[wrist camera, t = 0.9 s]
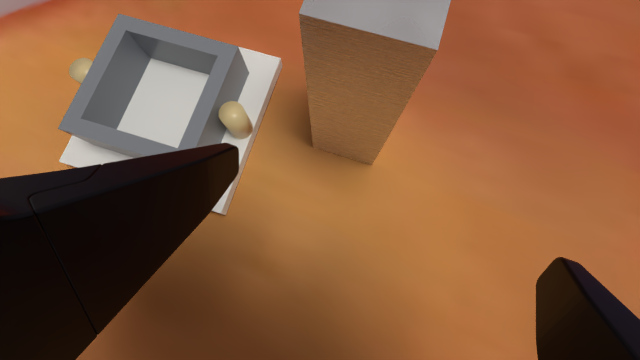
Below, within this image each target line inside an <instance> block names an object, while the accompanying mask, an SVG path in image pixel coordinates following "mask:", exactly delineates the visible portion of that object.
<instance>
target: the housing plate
mask: <svg viewBox="0 0 640 360" xmlns="http://www.w3.org/2000/svg"><path fill="white" fill-rule="evenodd" d="M281 69H282V62H281V58H278V57H274V56H271V55H267V54H263V53H260V52H256V51H252V50H249V49H245V48H241V47H238V46H234V45H231V44H227V43H224V42H220V41H216V40H213V39H209V38H205V37H202V36H198V35H194V34H191V33H187V32H184V31H180V30H176V29H173V28H169V27H165V26H162V25H158V24H154V23H151V22H147V21H144V20H140V19H136V18H133V17H129V16H125V15H122V14H118V16H117V18H116V20H115V21H114V23H113V25H112V27H111V29H110V31H109V33H108V35H107V37H106V39H105V40H104V42H103V44H102V46H101V48H100V50H99V52H98V54H97V56H96V57H95V59H94V61H93V62H92V61H91V60H90V59H87V58H80V59H77V60H75V61H74V62H73V63H72V64H71V66H70V68H69V74H70V76H71V77H72V78H73V79H75V80H76V81H78V82H79V83H81V86H80V88H79V90H78V91H77V93H76V95H75V97H74V99H73V101H72V103H71V105H70V107H69V108H68V110H67V112H66V114H65V116H64V118H63V120H62V122H61V124H60V125H59V127H58V129H60V130H62V131H64V132H66V133H69V134H71V135H72V137H71V139H70V141H69V143H68V145H67V147H66V149H65V150H64V152H63V154H62V156H61V158H60V160H59V162H62V163H65V164H68V165H71V166H74V167H77V168H79V167H86V166H91V165H97V164H101V165H103V164H104V163H109V162H115V161H121V160H127V159H132V158H138V157H144V156H150V155H156V154H161V153H167V152H173V151H179V150H184V149H190V148H196V147H202V146H208V145H213V144H219V143H229V144H232V145H235V146H237V147H238V149H239V172H238V175H237V176H236V178H235V179H234V181H233V182H232V183H231V185H230V186H229V188H228V189H227V190H226V192H225V193H224V194H223V196H222V197H221V199H220V200H219V201H218V203H217V204H216V205H215V207H214V208H213V209H212V210H211V211H214V212H217V213H220V214H223V215H226V213H227V211H228V208H229V205H230V203H231V200H232V198H233V195H234V192H235V190H236V187H237V184H238V182H239V179H240V176H241V174H242V171H243V169H244V166H245V163H246V161H247V158H248V155H249V153H250V150H251V148H252V145H253V142H254V140H255V137H256V134H257V132H258V129H259V127H260V124H261V121H262V119H263V116H264V113H265V111H266V108H267V105H268V103H269V100H270V98H271V95H272V92H273V90H274V87H275V84H276V82H277V79H278V77H279V74H280V71H281Z"/></svg>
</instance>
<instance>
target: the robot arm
mask: <svg viewBox="0 0 640 360" xmlns="http://www.w3.org/2000/svg"><path fill="white" fill-rule="evenodd" d="M238 172H239V149H238V147H237V146H235V145H232V144H229V143H219V144H213V145H208V146H202V147H196V148H190V149H184V150H179V151H173V152H167V153H161V154H156V155H150V156H144V157H138V158H132V159H127V160H121V161H115V162H109V163H104V164H103V165H101V164H97V165H91V166H86V167H79V168H73V169H67V170H60V171H53V172H46V173H38V174H31V175H23V176H15V177H7V178H0V360H76V359H77V358H78V356H79V355H80V354H81V353H82V352H83V351H84V350H85V349H86V348H87V347H88V346H89V344H90V343H91V342H92V341H93V340H94V339H95V338H96V337H97V335H98V334H99V333H100V332H101V331H102V330H103V329H104V328H105V327H106V326H107V324H108V323H109V322H110V321H111V320H112V319H113V318H114V317H115V316H116V315H117V314H118V312H119V311H120V310H121V309H122V308H123V307H124V306H125V305H126V304H127V303H128V302H129V300H130V299H131V298H132V297H133V296H134V295H135V294H136V293H137V292H138V291H139V290H140V288H141V287H142V286H143V285H144V284H145V283H146V282H147V281H148V280H149V279H150V278H151V276H152V275H153V274H154V273H155V272H156V271H157V270H158V269H159V268H160V267H161V265H162V264H163V263H164V262H165V261H166V260H167V259H168V258H169V257H170V256H171V255H172V253H173V252H174V251H175V250H176V249H177V248H178V247H179V246H180V245H181V244H182V243H183V241H184V240H185V239H186V238H187V237H188V236H189V235H190V234H191V233H192V232H193V231H194V229H195V228H196V227H197V226H198V225H199V224H200V223H201V222H202V221H203V220H204V219H205V217H206V216H207V215H208V214H209V213H210V212H211V210H212V209H213V208H214V207H215V205H216V204H217V203H218V201H219V200H220V199H221V197H222V196H223V194H224V193H225V192H226V190H227V189H228V188H229V186H230V185H231V183H232V182H233V181H234V179H235V178H236V176H237V175H238ZM536 345H537V355H538V360H640V319H638V318H637V317H636V316H635V315H634V314H633V313H632V312H631V311H630V310H629V309H628V308H627V307H626V306H625V305H623V304H622V303H621V302H620V301H619V300H618V299H617V298H616V297H615V296H614V295H613V294H612V293H611V292H610V291H608V290H607V289H606V288H605V287H604V286H603V285H602V284H601V283H600V282H599V281H598V280H597V279H596V278H595V277H593V276H592V275H591V274H590V273H589V272H588V271H587V270H586V269H585V268H584V267H583V266H582V265H581V264H579V263H577V262H575V261H572V260H569V259H566V258H563V257H558V258H556V259H555V260H553V262H552V263H551V264H550V265H549V266H548V267H547V268H546V270H545V271H544V272H543V273H542V274H541V275H540V277H539V278H538V280H537V283H536Z"/></svg>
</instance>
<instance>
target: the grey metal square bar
mask: <svg viewBox="0 0 640 360" xmlns="http://www.w3.org/2000/svg"><path fill="white" fill-rule="evenodd" d="M450 1H451V0H304V1H303V4H302V7H301V9H300V12H299V20H300V29H301V39H302V48H303V57H304V67H305V76H306V86H307V95H308V104H309V114H310V123H311V133H312V142H313V148H316V149H319V150H323V151H326V152H330V153H333V154H336V155H340V156H343V157H346V158H350V159H353V160H357V161H360V162H363V163H367V164H370V165H372V164H373V163H374V161H375V159H376V157H377V156H378V154H379V152H380V150H381V149H382V147H383V145H384V143H385V142H386V140H387V138H388V136H389V135H390V133H391V131H392V129H393V128H394V126H395V124H396V122H397V120H398V119H399V117H400V115H401V113H402V112H403V110H404V108H405V106H406V105H407V103H408V101H409V99H410V98H411V96H412V94H413V92H414V91H415V89H416V87H417V85H418V84H419V82H420V80H421V78H422V77H423V75H424V73H425V71H426V70H427V68H428V66H429V64H430V63H431V61H432V59H433V57H434V56H435V54H436V52H437V50H438V47H439V43H440V39H441V36H442V32H443V28H444V24H445V20H446V17H447V13H448V9H449V5H450Z"/></svg>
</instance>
